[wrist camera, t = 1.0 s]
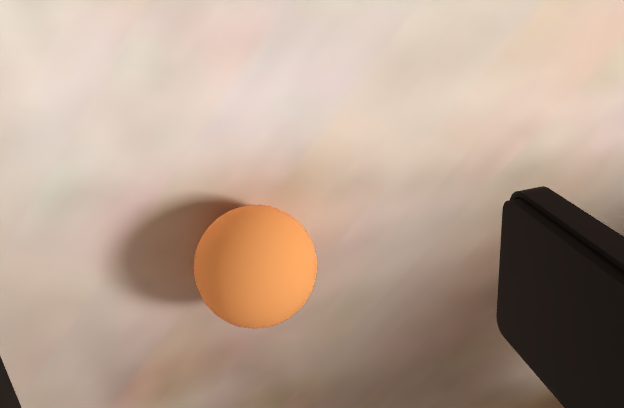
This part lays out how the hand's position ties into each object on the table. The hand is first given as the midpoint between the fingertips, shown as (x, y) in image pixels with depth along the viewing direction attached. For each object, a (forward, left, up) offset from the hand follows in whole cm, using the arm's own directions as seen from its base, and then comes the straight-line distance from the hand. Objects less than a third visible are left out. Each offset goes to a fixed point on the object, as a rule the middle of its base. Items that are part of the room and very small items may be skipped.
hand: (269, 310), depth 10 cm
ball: (-1, +9, -16) cm, 18 cm away
